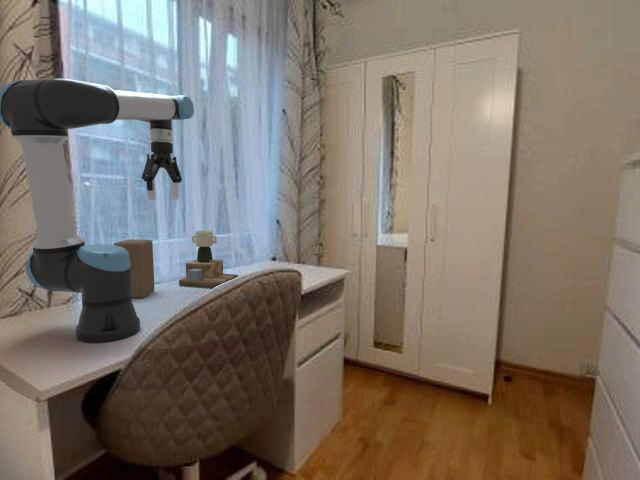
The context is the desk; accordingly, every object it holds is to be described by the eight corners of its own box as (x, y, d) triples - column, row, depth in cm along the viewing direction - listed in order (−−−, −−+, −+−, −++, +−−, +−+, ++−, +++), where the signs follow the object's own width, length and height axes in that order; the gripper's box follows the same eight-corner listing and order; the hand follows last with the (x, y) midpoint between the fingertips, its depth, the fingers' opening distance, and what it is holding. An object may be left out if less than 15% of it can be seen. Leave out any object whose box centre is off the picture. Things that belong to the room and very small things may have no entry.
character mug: (220, 260, 165) (219, 230, 163) (213, 263, 158) (212, 232, 156) (196, 259, 167) (195, 229, 165) (188, 262, 160) (187, 231, 158)
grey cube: (197, 280, 153) (197, 271, 152) (188, 280, 154) (188, 270, 153) (202, 278, 157) (202, 269, 156) (194, 278, 158) (193, 268, 157)
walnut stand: (219, 289, 150) (218, 267, 149) (179, 285, 155) (178, 265, 154) (238, 280, 166) (237, 260, 165) (200, 277, 170) (200, 258, 169)
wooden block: (143, 298, 136) (140, 242, 134) (115, 298, 136) (112, 242, 134) (155, 291, 146) (153, 239, 144) (129, 291, 146) (127, 239, 144)
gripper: (147, 137, 129) (150, 200, 132) (190, 145, 153) (191, 199, 156) (128, 137, 131) (131, 200, 134) (173, 146, 155) (175, 199, 158)
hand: (164, 199), depth 145 cm, fingers open, 13 cm apart
